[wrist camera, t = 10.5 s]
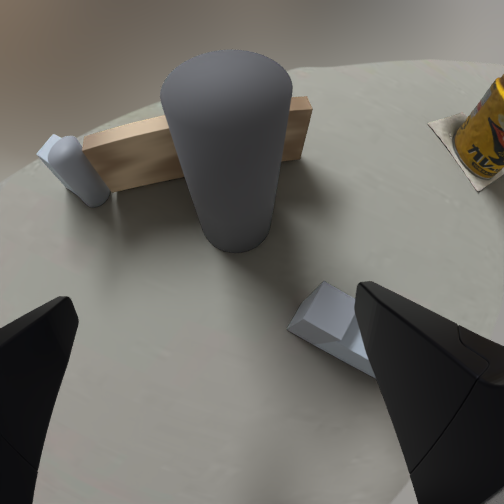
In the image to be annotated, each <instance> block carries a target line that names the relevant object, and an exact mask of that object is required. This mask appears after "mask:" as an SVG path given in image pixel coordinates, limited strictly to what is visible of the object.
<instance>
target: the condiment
mask: <svg viewBox="0 0 504 504" xmlns="http://www.w3.org/2000/svg"><path fill="white" fill-rule="evenodd" d="M428 124H429V126H430V127H431V128H432V129H433V130H434V132H435V133H436V134H437V135H438V136H439V137H440V139H441V140H442V142H443V143H444V144H445V145H446V146H447V148H448V150H449V151H450V153H451V154H452V156H453V157H454V159H455V160H456V161H457V163H458V164H459V165H460V167H461V168H462V170H463V171H464V173H465V174H466V176H467V177H468V178H469V180H470V181H471V183H472V185H473V186H474V187H475V189H476V190H477V191H480V190H482V189H483V188H485V187H486V186H488V185H489V184H491V183H492V182H493V181H495V180H496V179H498V178H499V177H501V176H502V175H503V174H504V74H503V76H502V77H501V78H497V79H496V80H495V81H494V82H493V84H492V85H491V87H490V88H489V89H488V91H487V92H486V94H485V95H484V97H483V98H482V99H481V101H480V102H479V103H478V105H477V106H476V107H475V109H474V110H473V111H472V112H471V114H470V116H468V117H467V116H466V115H465V114H464V113H463V112H461V113H459V114H456V115H453V116H450V117H446V118H444V119H439V120H436V121H432V122H429V123H428ZM450 134H451V136H450ZM450 137H452V139H451V138H450Z"/></svg>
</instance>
